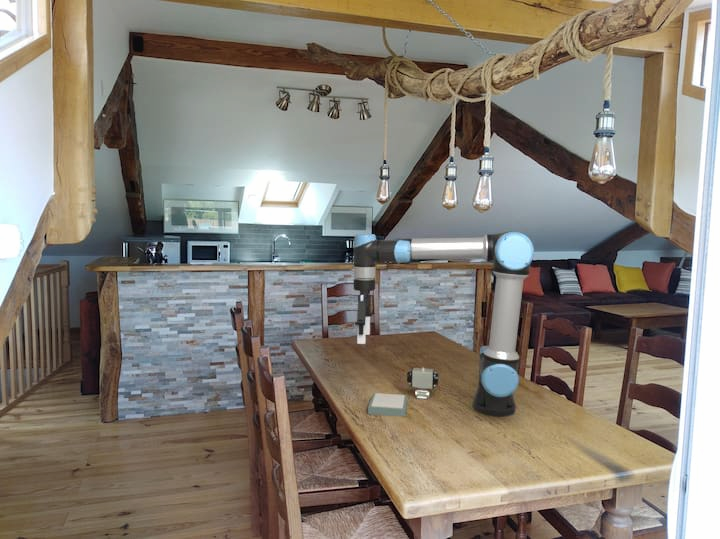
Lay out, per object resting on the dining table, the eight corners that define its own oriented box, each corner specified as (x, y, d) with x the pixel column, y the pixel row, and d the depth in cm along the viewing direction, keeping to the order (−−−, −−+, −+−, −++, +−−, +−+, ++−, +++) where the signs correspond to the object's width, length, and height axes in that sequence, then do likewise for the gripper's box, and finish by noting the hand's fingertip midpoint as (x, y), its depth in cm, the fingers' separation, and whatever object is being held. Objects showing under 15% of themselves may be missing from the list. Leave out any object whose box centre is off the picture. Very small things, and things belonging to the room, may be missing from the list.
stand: (407, 401, 194) (407, 394, 194) (405, 416, 179) (405, 408, 179) (373, 399, 196) (373, 392, 195) (368, 414, 181) (368, 406, 181)
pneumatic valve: (437, 401, 195) (438, 370, 194) (406, 398, 197) (407, 368, 196) (438, 396, 200) (439, 366, 199) (408, 393, 202) (408, 363, 201)
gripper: (358, 274, 191) (357, 330, 193) (348, 282, 167) (347, 347, 169) (378, 274, 190) (377, 331, 192) (371, 283, 166) (370, 348, 168)
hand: (363, 338), depth 181 cm, fingers open, 13 cm apart
